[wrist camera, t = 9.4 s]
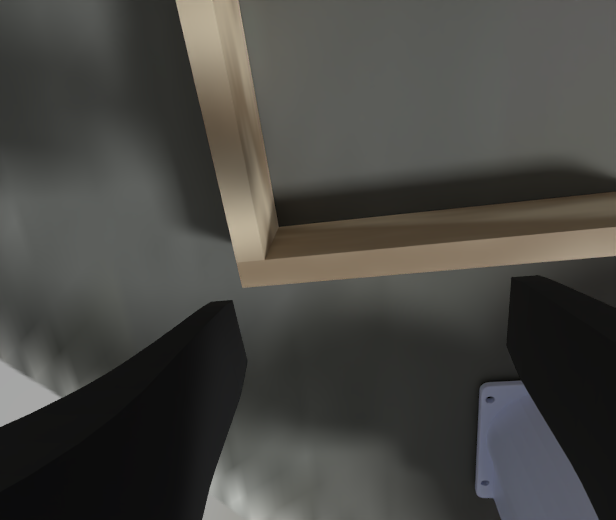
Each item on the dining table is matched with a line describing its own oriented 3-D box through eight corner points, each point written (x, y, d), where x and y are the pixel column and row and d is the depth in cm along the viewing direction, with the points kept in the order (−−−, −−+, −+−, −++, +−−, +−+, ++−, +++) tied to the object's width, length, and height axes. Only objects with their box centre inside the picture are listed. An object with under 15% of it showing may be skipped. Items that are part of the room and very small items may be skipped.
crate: (643, 213, 18) (716, 247, 15) (260, 250, 21) (242, 287, 17) (726, -178, 13) (872, -275, 9) (195, -67, 15) (150, -110, 12)
